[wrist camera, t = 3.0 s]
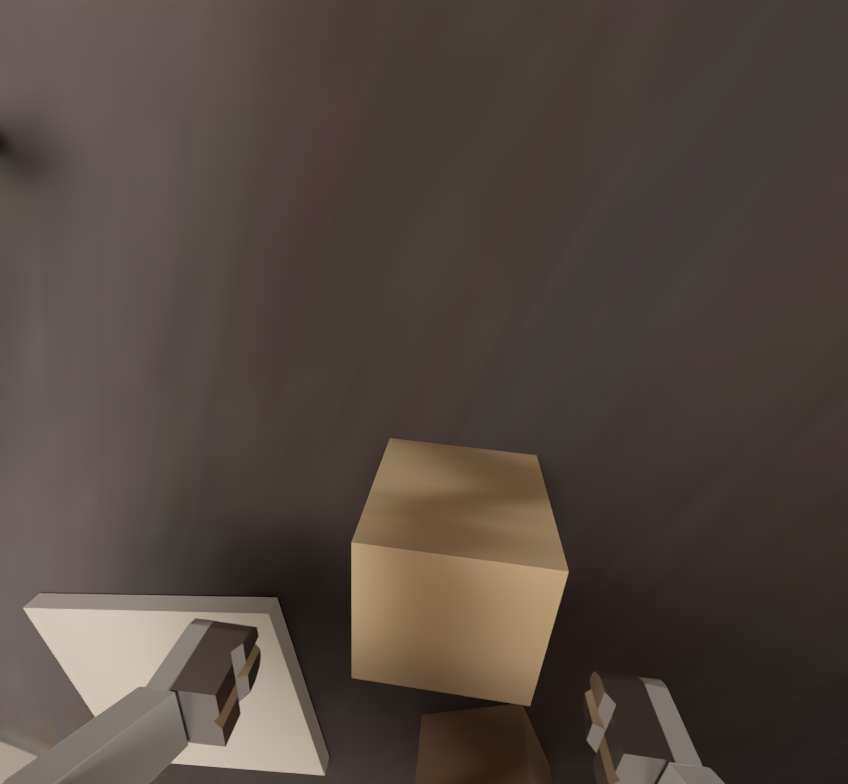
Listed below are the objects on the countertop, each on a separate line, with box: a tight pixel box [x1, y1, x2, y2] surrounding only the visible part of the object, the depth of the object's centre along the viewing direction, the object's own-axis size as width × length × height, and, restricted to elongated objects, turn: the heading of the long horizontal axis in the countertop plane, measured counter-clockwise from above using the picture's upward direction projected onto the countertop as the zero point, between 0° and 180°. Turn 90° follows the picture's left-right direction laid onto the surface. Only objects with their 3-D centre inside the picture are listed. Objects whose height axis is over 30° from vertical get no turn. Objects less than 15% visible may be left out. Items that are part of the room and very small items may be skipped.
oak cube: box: [351, 438, 569, 706], centre depth 13 cm, size 5×5×5 cm
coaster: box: [23, 593, 329, 776], centre depth 20 cm, size 12×12×1 cm
